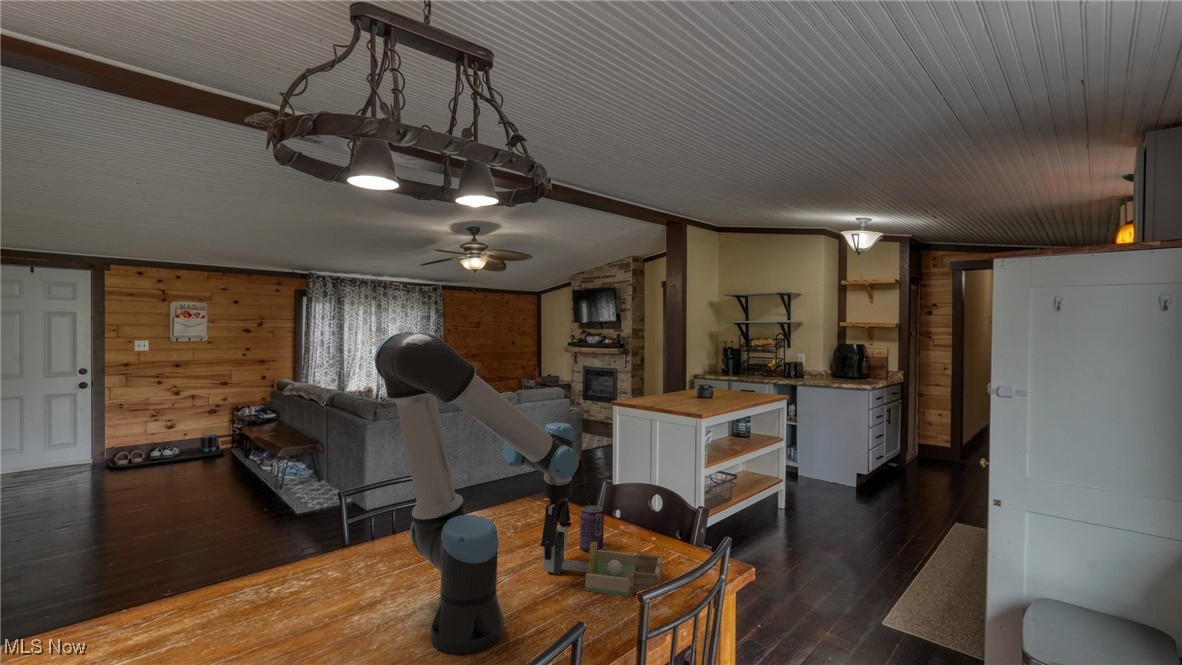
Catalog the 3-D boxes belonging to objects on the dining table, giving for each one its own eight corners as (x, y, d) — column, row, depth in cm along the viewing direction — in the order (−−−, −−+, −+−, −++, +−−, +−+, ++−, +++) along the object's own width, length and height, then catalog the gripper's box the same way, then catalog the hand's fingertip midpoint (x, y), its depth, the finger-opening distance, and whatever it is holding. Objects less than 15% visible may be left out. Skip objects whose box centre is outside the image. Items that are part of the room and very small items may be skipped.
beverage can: (603, 544, 163) (604, 505, 163) (602, 554, 156) (603, 513, 156) (580, 543, 163) (581, 504, 163) (578, 552, 156) (579, 511, 156)
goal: (657, 600, 129) (657, 579, 129) (628, 596, 131) (629, 576, 131) (662, 571, 145) (662, 553, 145) (636, 568, 147) (637, 550, 147)
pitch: (628, 596, 131) (629, 580, 131) (585, 590, 133) (585, 574, 133) (636, 568, 147) (637, 554, 147) (597, 564, 149) (598, 549, 149)
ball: (620, 579, 137) (620, 564, 137) (605, 578, 138) (605, 562, 138) (622, 573, 141) (623, 558, 141) (608, 571, 142) (608, 556, 142)
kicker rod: (593, 581, 138) (594, 542, 138) (546, 575, 141) (547, 537, 141) (597, 571, 144) (598, 534, 144) (552, 565, 146) (553, 529, 146)
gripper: (558, 496, 130) (556, 582, 130) (581, 470, 155) (580, 543, 155) (529, 493, 132) (527, 578, 132) (557, 468, 156) (555, 541, 156)
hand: (555, 560), depth 143 cm, fingers open, 13 cm apart
